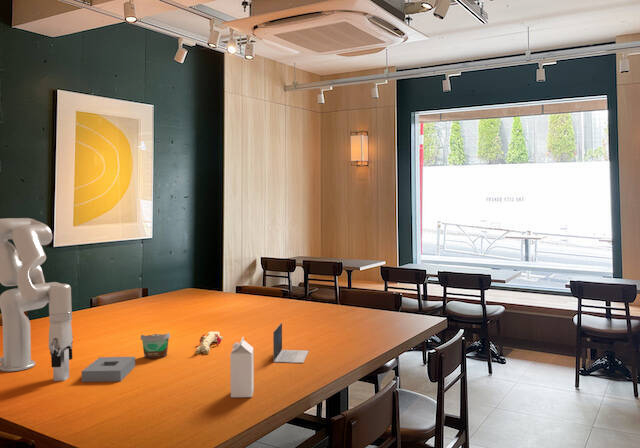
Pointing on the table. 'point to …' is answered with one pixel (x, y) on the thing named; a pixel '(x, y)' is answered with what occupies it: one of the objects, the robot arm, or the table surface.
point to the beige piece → (208, 341)
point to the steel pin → (62, 366)
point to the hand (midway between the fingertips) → (62, 363)
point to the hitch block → (108, 369)
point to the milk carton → (242, 370)
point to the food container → (155, 345)
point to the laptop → (285, 355)
